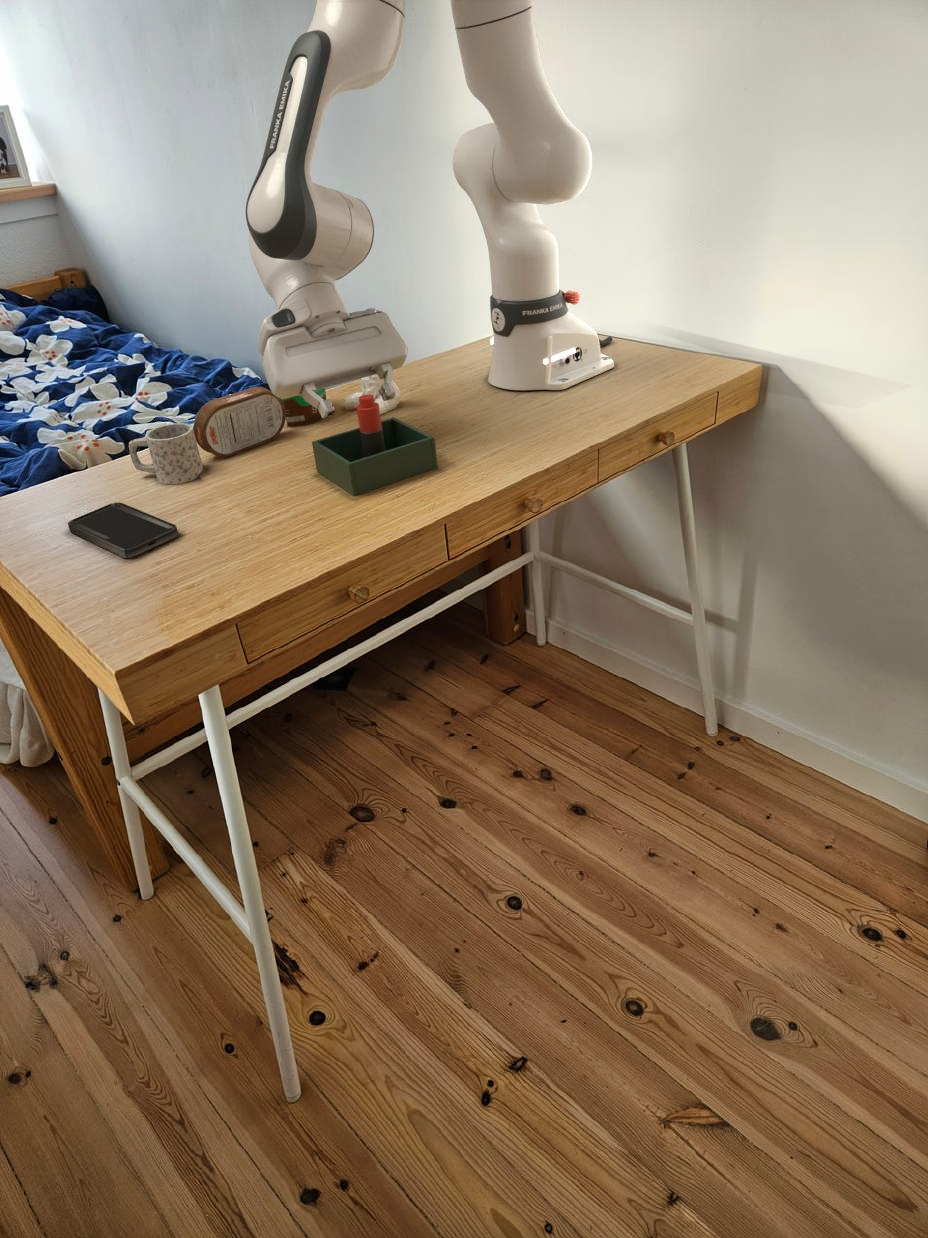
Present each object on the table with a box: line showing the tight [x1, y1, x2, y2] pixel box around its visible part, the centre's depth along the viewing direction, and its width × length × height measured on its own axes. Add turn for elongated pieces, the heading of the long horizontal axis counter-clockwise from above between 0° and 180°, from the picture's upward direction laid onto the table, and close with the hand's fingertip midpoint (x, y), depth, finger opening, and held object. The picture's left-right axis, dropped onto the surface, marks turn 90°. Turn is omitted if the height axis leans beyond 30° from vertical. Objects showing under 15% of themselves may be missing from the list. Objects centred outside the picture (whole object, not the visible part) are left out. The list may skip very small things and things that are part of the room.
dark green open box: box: [311, 416, 439, 497], centre depth 124 cm, size 13×11×5 cm
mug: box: [128, 422, 204, 485], centre depth 129 cm, size 10×7×7 cm, turn 86°
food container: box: [282, 388, 327, 428], centre depth 145 cm, size 12×6×10 cm, turn 168°
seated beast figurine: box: [344, 374, 402, 416], centre depth 145 cm, size 10×9×12 cm
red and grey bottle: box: [356, 395, 385, 458], centre depth 122 cm, size 3×3×10 cm
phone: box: [67, 501, 180, 559], centre depth 115 cm, size 8×1×15 cm
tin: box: [193, 386, 286, 458], centre depth 136 cm, size 15×3×8 cm, turn 134°
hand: (360, 406), depth 122 cm, fingers open, 8 cm apart
